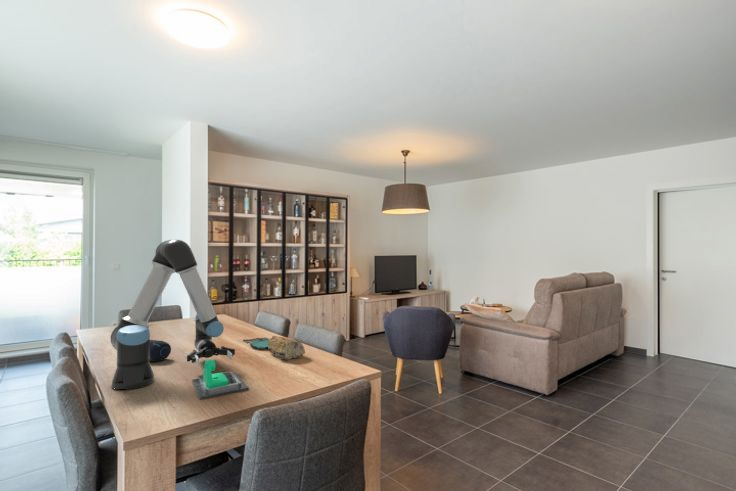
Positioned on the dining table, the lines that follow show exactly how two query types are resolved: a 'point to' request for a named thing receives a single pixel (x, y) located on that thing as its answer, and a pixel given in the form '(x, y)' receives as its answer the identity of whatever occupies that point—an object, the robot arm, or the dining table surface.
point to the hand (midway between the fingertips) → (214, 359)
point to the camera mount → (213, 375)
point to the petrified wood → (285, 347)
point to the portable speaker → (159, 350)
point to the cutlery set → (258, 343)
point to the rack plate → (233, 386)
